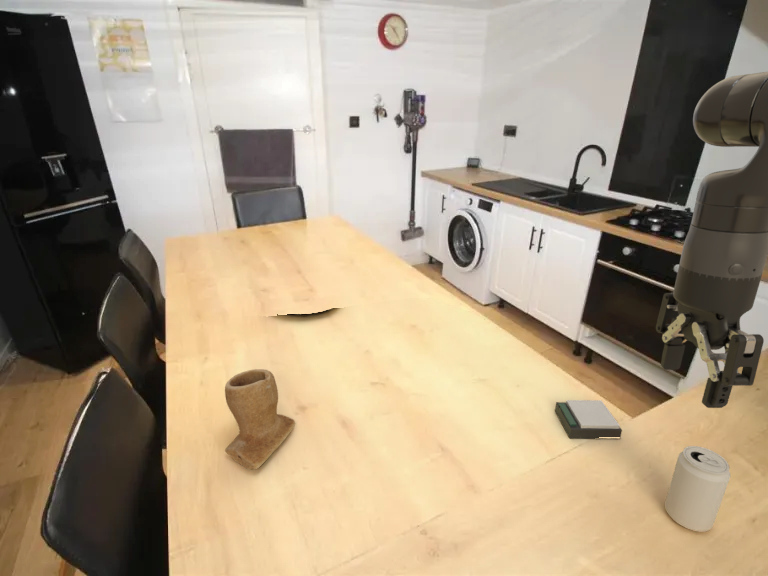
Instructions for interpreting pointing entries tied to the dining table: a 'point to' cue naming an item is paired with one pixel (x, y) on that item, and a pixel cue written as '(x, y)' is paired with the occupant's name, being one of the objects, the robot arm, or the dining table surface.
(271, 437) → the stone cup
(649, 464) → the dining table surface
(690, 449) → the beverage can
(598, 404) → the scale
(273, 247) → the dining table surface
